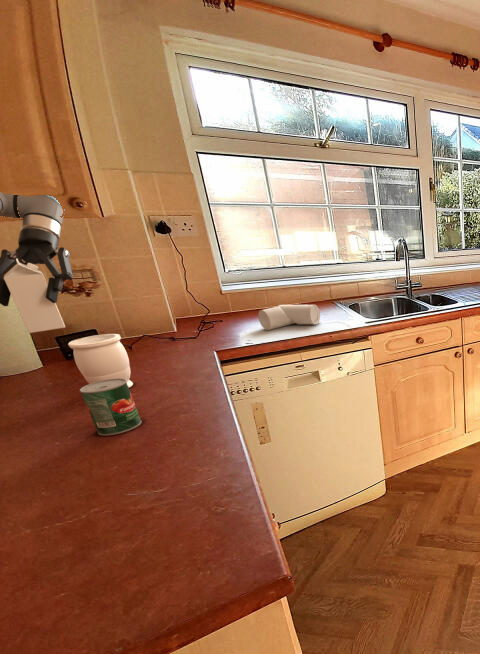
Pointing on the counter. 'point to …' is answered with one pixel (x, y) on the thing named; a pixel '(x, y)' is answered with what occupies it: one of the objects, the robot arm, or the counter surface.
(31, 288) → the milk carton
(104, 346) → the jar
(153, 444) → the counter surface
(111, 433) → the canned tomato
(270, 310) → the l-shaped cylinder
